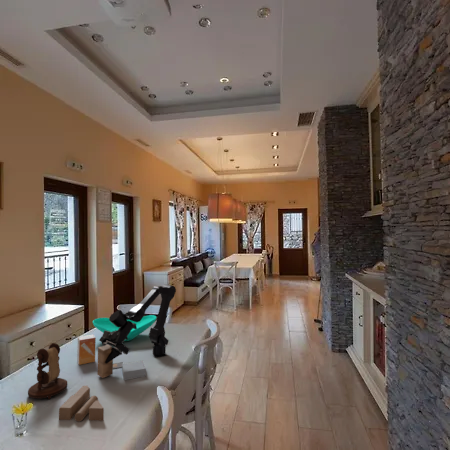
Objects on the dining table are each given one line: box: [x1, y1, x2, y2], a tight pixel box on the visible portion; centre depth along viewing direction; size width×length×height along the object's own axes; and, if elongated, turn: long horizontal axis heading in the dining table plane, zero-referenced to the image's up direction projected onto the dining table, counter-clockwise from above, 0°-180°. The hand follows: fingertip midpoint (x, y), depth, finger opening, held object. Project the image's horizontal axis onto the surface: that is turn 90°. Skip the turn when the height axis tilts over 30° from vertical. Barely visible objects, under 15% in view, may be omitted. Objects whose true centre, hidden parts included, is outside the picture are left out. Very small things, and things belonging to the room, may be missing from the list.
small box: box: [76, 333, 96, 366], centre depth 162 cm, size 8×6×13 cm
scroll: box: [27, 342, 68, 400], centre depth 130 cm, size 15×15×20 cm
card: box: [113, 361, 124, 370], centre depth 156 cm, size 8×6×1 cm
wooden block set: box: [58, 385, 105, 422], centre depth 119 cm, size 17×6×18 cm
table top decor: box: [92, 314, 158, 342], centre depth 195 cm, size 40×28×13 cm
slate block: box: [121, 360, 147, 381], centre depth 148 cm, size 10×10×4 cm
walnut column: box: [96, 345, 114, 379], centre depth 145 cm, size 5×5×13 cm
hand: (102, 361), depth 144 cm, fingers closed on walnut column, 5 cm apart
